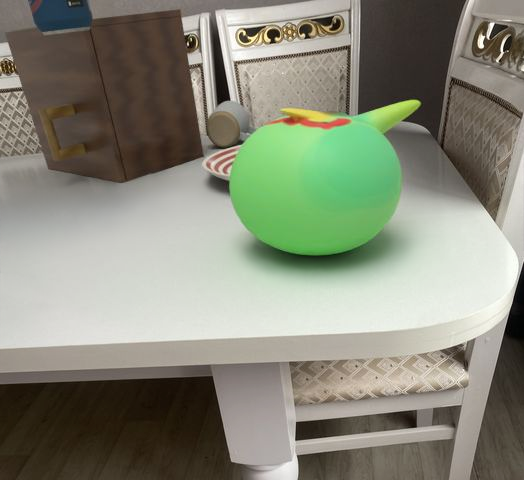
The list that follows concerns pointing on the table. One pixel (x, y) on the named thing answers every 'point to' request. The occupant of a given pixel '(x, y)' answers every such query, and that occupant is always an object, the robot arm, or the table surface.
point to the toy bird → (319, 179)
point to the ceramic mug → (229, 124)
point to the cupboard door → (67, 102)
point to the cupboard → (148, 90)
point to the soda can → (61, 15)
